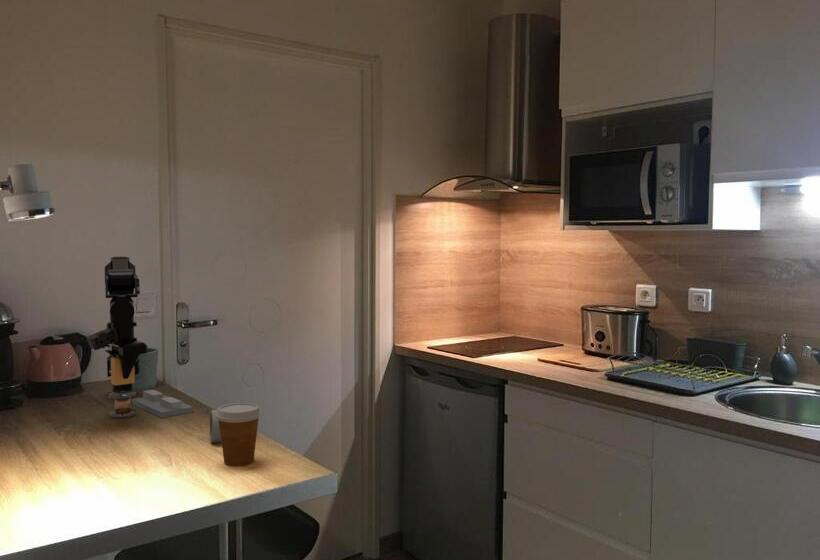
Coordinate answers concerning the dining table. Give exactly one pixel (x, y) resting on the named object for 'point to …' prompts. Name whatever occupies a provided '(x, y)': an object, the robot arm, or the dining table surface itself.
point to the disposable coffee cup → (238, 432)
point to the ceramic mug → (214, 427)
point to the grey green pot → (147, 370)
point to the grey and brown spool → (122, 404)
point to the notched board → (159, 408)
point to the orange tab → (120, 373)
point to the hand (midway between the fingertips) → (123, 377)
